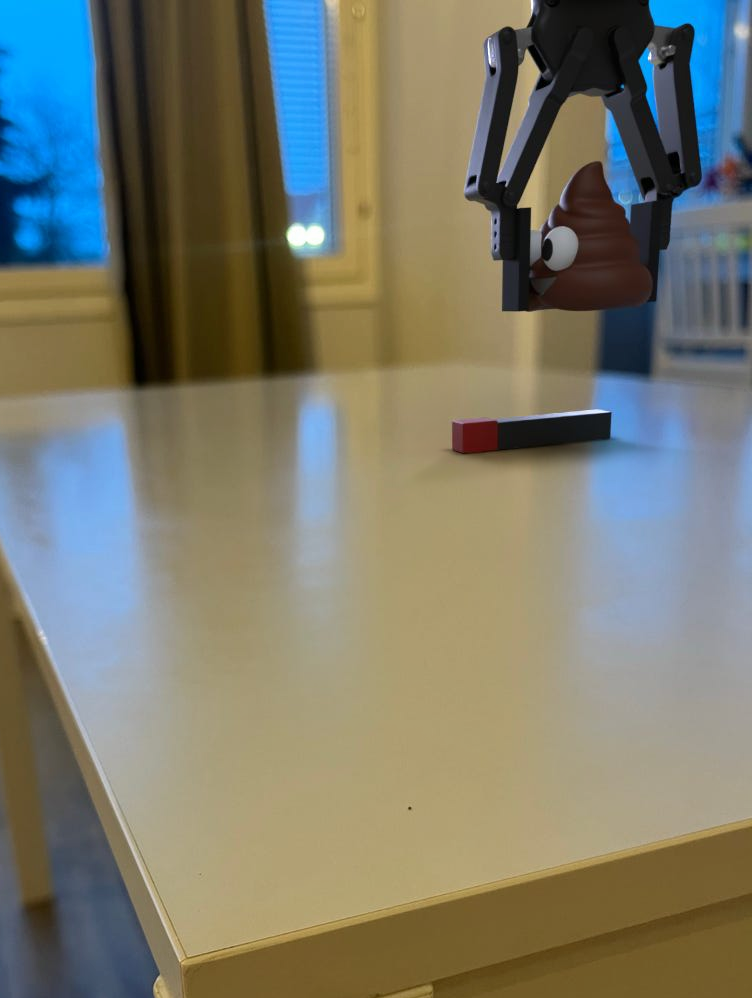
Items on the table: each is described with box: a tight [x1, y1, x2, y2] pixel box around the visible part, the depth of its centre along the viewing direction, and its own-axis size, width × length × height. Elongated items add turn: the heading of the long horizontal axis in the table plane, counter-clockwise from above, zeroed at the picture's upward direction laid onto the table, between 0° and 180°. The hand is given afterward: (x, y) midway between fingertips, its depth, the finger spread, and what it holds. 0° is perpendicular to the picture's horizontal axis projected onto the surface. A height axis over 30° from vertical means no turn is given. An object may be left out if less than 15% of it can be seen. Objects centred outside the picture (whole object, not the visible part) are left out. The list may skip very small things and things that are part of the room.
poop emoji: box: [525, 160, 653, 313], centre depth 68 cm, size 10×8×9 cm
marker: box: [451, 409, 613, 454], centre depth 81 cm, size 13×2×2 cm, turn 102°
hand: (578, 306), depth 69 cm, fingers closed on poop emoji, 9 cm apart
